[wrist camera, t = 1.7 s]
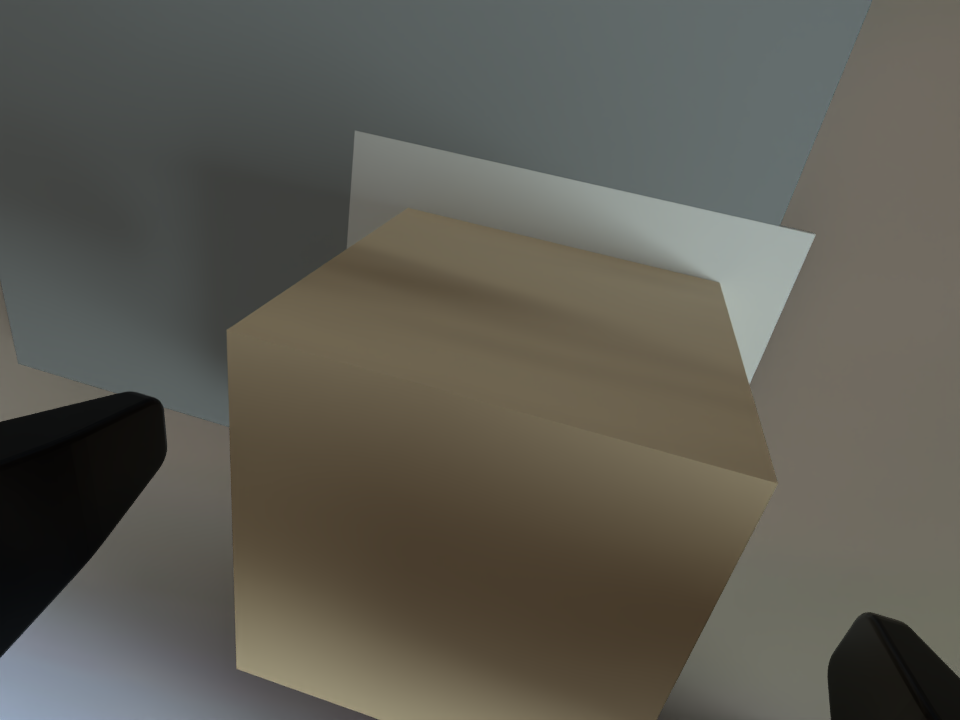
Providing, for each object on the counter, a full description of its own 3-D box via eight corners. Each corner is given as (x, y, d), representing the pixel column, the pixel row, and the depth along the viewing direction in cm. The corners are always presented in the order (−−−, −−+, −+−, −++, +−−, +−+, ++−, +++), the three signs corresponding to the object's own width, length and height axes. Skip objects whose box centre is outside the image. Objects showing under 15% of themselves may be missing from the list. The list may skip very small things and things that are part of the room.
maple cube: (627, 525, 12) (613, 803, 8) (379, 452, 13) (236, 668, 8) (719, 282, 10) (777, 483, 5) (408, 207, 10) (226, 330, 6)
